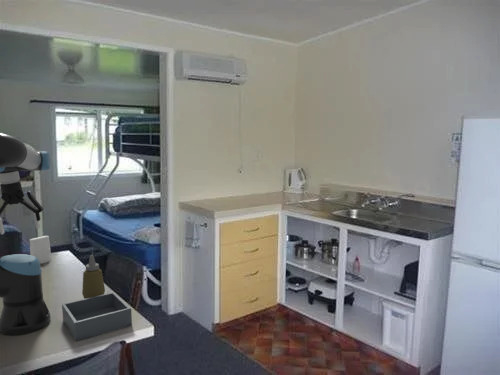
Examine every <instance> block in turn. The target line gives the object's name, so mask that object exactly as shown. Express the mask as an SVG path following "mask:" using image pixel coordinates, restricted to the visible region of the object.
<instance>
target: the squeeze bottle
mask: <svg viewBox="0 0 500 375" xmlns="http://www.w3.org/2000/svg"><path fill="white" fill-rule="evenodd" d="M105 291H106V287H105V281H104V277H103V271H102V269H100V265H99V263H97V262H96V258H95V257H94V254H91V255H90V254H89V259H88V263H87V264H85V270H84V271H83V273H82V291H81V292H82V296H83V299H86V298H90V297H95V296H99V295H103V294H105Z"/></svg>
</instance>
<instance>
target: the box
mask: <svg viewBox="0 0 500 375" xmlns="http://www.w3.org/2000/svg"><path fill="white" fill-rule="evenodd" d="M61 312H62V322H63V323H64V324H65V327H66V329H68V331H69V333H70V334H71V336H72V338H73V339H74V341H75V342H78V341H82V340H87V339H90V338H93V337H97V336H100V335H103V334H107V333H111V332H115V331H118V330H122V329H125V328H128V327H132V326H133V320H132V319H133V318H132V308H131V306H129V305H128V303H126V301H124V300H123V299H122V298H121V297H120V296H119V295H118V294H117V293H116V292H115V291H113V292H108V293H104V294H103V295H99V296H95V297H90V298H86V299H84V298H82V299H78V300H73V301H69V302H65V303H61Z"/></svg>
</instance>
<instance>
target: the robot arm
mask: <svg viewBox="0 0 500 375" xmlns="http://www.w3.org/2000/svg"><path fill="white" fill-rule="evenodd" d="M51 164H52V162H51V155H50V153H49V152H48V151H43V150H40V151H36V150H34V149H32V148H29V147H27V146H26V144H25V143H24V142H23V141H22V140H20V139H18V138H17V137H14V136H12V135H9V134H6V133H3V132H0V191H1V192H0V193H1V195H0V200H3V201H4V202H3V203H2V205H1V207H0V216H1V215H2V214H3V212H4V211H5V209H6V208H7V206H8V205H11V206H12V205H18V204H20V205H23V206H24V207H26V208H27V209H28V210H30V211H32V212H33V219H34V224H35V230H39V229H40V223H39V222H40V221H41V215H40V213H42V212H43V211H44V208H43V206H42V205H41V204H40V203H39V201H38V200H37V198H35V197H34V196H33V192H32V191H31V190H28V191H25V192H24V191H23V188H22V187H23V186H22V182H21V181H20V179H21V178H20V173H19V172H28V171H30V172H31V171H32V172H33V171H34V172H35V171H36V172H37V171H42V172H43V171H48V170H50V168H51ZM24 197H27V198H28V199H29V201H31V203H32V204H31V203H29V202H28V201H27V200H26V199H25V198H24ZM4 234H5V228H4V223H3V218H2V217H0V235H4ZM42 273H43V272H42V268H41V264H40V261H39V259H38V258H37V257H35V256H32V255H31V254H26V253H25V254H24V253H23V254H22V253H15V254H8V255H3V256H1V257H0V298H2V305H3V306H2V309H1V310H2V311H1V313H0V333H1V334H2V335H7V336H8V335H9V336H17V335H25V334H29V333H33V332H35V331H36V332H37V331H39V330H40V329H43V328H45V327H46V326H47V325H49V324H50V323H51V312H50V310H49V308H48V306H47V305H46V302H45V300H44V294H43V293H44V292H43V278H42Z"/></svg>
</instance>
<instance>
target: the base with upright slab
mask: <svg viewBox="0 0 500 375" xmlns="http://www.w3.org/2000/svg"><path fill="white" fill-rule="evenodd" d="M50 244H51V243H50V236H49V235H43V236H39V237H38V236H37V237H33V238H29V248H30V250H29V252H30V253H29V255H32V256H35V257H37V258H38V259H39V261H40V265H41V264H46V263H49V262H51V261H52V254H51V251H52V250H51V245H50Z"/></svg>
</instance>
